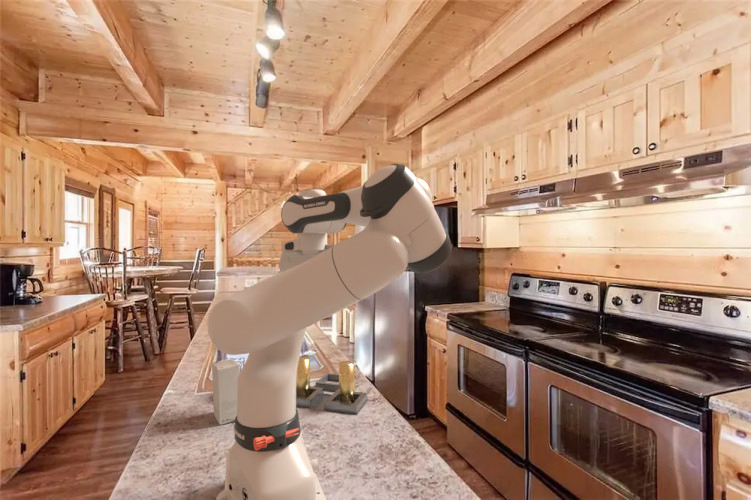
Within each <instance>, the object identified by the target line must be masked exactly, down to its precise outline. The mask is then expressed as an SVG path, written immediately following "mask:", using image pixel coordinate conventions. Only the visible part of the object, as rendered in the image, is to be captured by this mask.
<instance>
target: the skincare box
mask: <svg viewBox="0 0 751 500" xmlns="http://www.w3.org/2000/svg"><path fill="white" fill-rule="evenodd" d="M240 371H241V369H240V364H239V363H238V362H237V361H235V359H234V358H229V359H223V360H219V361H214V362H212V363H211V373H212V376H211V377H212V378H211V379H212V395H213V396H212V401H213V402H212V403H213V405H212V406H213V416H214V417H215V419H216V422H217V423H218V425H219V426H223V425H225V424H229V423H235V418H236V416H237V379H238V375H239V373H240Z"/></svg>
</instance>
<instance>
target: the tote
mask: <svg viewBox="0 0 751 500" xmlns="http://www.w3.org/2000/svg"><path fill="white" fill-rule="evenodd" d="M328 381H333V382H334V381H335V382H339V373H330V372H326V373H325V374H324V375H323V376H322V377H320V378H319V379H318V380H317V381H316V382H315V387H320V388H324V391H327V392H328V391H330V392H335V391H336V390H339V383H331V382H330V383H328Z"/></svg>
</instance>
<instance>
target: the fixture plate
mask: <svg viewBox="0 0 751 500" xmlns="http://www.w3.org/2000/svg"><path fill="white" fill-rule="evenodd" d="M324 392H325V390H324V388H320V387H316V386H311V385H310V396H309V397H307V398H306V397H298V396H296V408H300V409H308V410H313V411H323V412H329V413H336V414H344V415H350V416H351V415H352V416H358V415H359V413H360V411H362V409H363V408H364V406H365V405H366V403H367V402H368V401H369V398H368V393H367V392H360V391H354V403H353V404H352V403H345V402H339V390H336V391H333V393H324Z"/></svg>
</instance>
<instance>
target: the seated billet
mask: <svg viewBox="0 0 751 500" xmlns="http://www.w3.org/2000/svg"><path fill="white" fill-rule="evenodd" d="M310 364H311V358H310V357H309V356H300V357H299V362H298V368H297V377H296V396H298V397H306V398H307V397H309V396H310V386H311V381H310V379H311V375H310V374H311V371H310V370H311V365H310Z"/></svg>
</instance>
